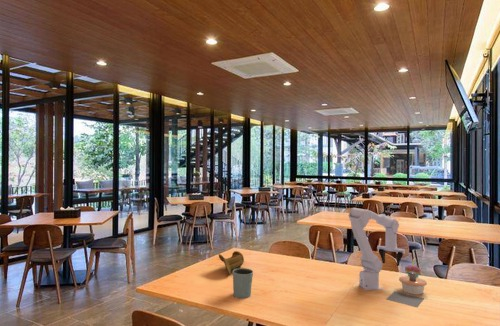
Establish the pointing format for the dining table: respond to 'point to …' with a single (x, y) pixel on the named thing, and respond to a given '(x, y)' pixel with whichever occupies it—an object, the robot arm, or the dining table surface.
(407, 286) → the ramekin
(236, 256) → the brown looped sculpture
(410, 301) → the mat
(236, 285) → the grey cup
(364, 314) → the dining table surface
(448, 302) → the dining table surface
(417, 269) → the cupcake
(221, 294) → the dining table surface
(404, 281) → the lid
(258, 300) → the dining table surface
